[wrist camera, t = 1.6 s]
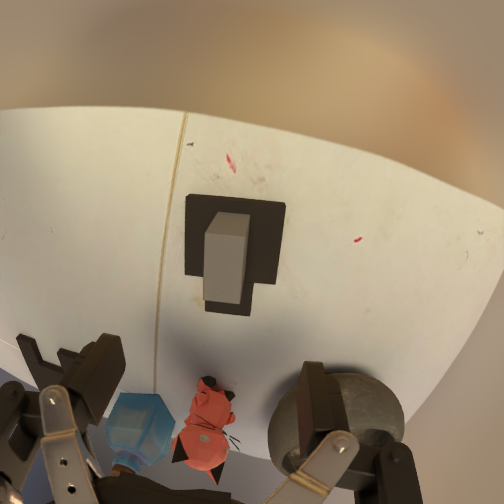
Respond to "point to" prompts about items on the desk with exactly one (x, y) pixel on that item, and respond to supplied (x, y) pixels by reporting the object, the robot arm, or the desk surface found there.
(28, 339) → the notch pad
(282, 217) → the tab pad
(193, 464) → the cat figurine
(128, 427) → the perfume bottle
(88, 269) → the desk surface
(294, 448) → the bowl
